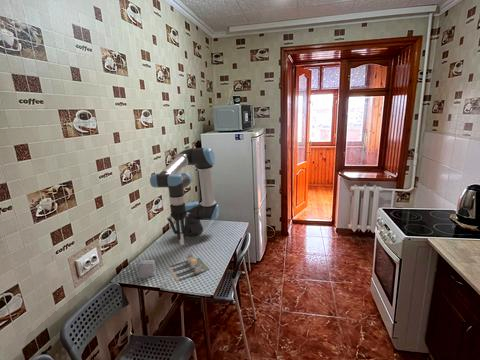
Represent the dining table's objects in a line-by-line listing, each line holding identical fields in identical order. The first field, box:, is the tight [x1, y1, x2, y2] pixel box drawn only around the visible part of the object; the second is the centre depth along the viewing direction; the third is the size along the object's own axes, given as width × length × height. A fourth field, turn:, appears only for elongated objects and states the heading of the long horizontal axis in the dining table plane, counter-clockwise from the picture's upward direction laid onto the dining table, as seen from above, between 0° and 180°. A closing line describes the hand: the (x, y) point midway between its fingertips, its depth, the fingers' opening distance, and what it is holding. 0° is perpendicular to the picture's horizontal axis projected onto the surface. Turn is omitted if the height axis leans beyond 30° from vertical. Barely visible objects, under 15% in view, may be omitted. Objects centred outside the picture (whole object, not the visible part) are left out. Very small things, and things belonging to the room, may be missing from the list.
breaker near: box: [194, 262, 203, 274], centre depth 143 cm, size 3×3×4 cm
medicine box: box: [137, 259, 157, 279], centre depth 143 cm, size 8×4×9 cm, turn 92°
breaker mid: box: [190, 258, 198, 269], centre depth 148 cm, size 3×3×4 cm
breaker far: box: [186, 253, 195, 264], centre depth 153 cm, size 3×3×4 cm
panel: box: [168, 257, 211, 282], centre depth 148 cm, size 16×22×2 cm
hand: (182, 243), depth 142 cm, fingers closed
